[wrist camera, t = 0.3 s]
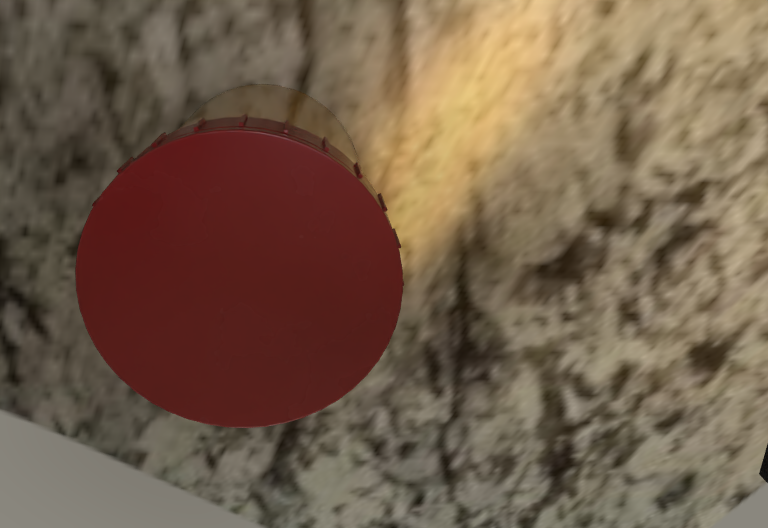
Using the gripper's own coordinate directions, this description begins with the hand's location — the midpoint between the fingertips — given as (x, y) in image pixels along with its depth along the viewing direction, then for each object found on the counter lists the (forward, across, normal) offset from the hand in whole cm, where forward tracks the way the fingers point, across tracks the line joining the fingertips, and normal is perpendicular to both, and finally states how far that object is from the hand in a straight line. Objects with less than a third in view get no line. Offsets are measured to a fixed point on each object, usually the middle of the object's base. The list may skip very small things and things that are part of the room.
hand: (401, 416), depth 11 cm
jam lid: (+7, -3, -1) cm, 8 cm away
